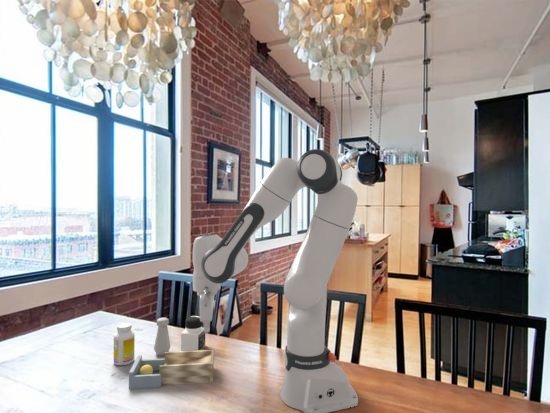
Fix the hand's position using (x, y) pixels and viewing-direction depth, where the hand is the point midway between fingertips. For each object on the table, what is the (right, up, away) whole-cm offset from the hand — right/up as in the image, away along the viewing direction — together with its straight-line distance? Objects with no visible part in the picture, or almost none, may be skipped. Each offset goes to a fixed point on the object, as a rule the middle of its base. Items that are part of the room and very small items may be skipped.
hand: (207, 326), depth 109 cm
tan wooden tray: (-6, -16, -1) cm, 17 cm away
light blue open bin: (-18, -16, -2) cm, 24 cm away
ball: (-19, -14, -2) cm, 23 cm away
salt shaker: (-20, -16, +15) cm, 30 cm away
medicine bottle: (-10, -16, +20) cm, 27 cm away
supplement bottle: (-31, -16, +8) cm, 36 cm away
